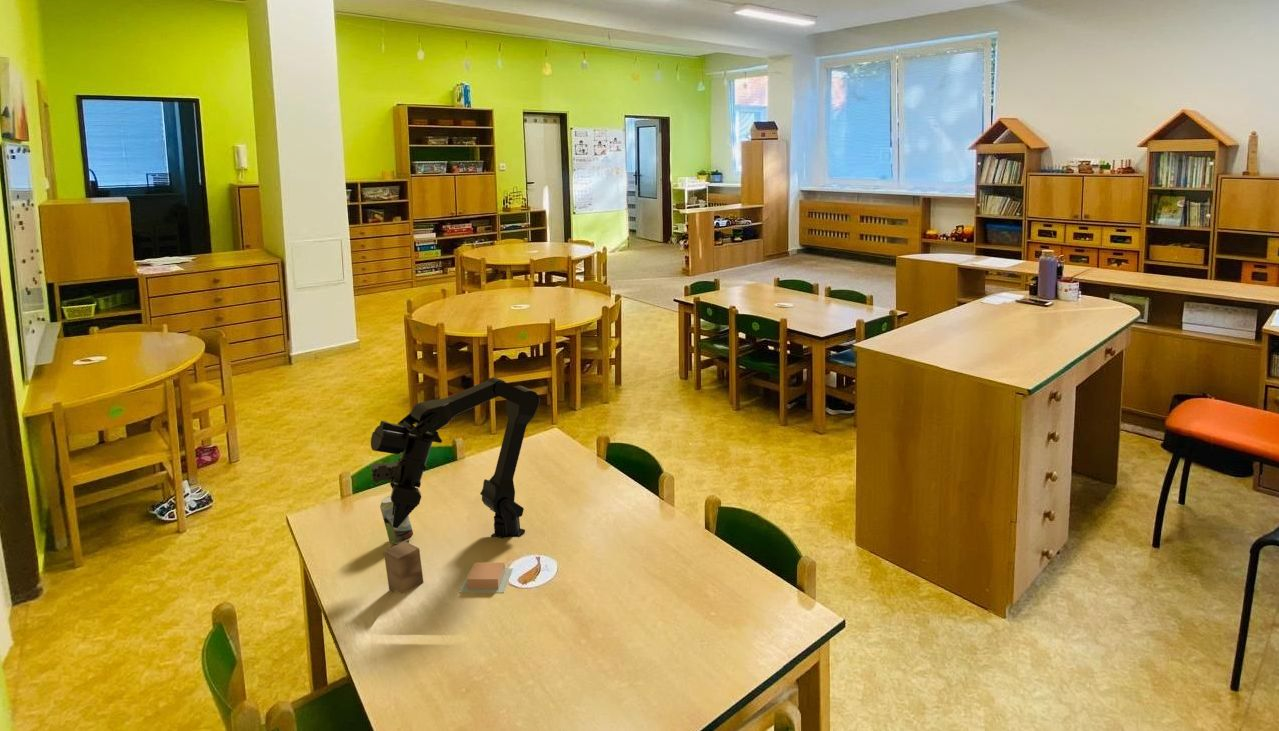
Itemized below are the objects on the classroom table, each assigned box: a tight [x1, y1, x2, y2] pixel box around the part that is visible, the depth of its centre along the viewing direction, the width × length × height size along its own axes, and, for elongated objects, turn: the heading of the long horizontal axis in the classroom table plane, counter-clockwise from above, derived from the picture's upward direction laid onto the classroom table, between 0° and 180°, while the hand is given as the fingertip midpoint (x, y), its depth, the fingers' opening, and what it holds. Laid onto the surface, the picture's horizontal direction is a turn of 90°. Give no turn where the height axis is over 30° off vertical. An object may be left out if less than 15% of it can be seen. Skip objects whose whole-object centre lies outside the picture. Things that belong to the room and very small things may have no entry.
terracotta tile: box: [466, 562, 506, 589], centre depth 174 cm, size 7×7×2 cm
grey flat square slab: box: [458, 567, 514, 594], centre depth 175 cm, size 10×10×2 cm
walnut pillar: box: [383, 541, 424, 594], centre depth 173 cm, size 6×6×10 cm
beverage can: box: [379, 495, 414, 545], centre depth 195 cm, size 6×7×12 cm
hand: (394, 521), depth 177 cm, fingers open, 9 cm apart
